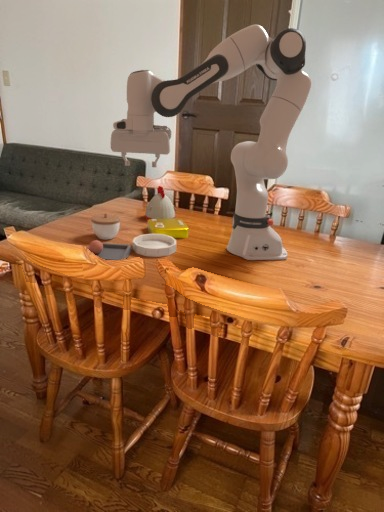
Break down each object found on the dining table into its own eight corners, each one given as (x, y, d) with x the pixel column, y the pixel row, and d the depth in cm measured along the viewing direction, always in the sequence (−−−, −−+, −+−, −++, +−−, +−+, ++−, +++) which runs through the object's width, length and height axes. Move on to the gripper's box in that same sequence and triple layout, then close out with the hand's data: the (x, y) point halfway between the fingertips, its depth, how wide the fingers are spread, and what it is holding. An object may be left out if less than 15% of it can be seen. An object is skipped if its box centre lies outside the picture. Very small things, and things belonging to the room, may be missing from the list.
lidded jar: (113, 243, 131) (113, 219, 127) (87, 239, 132) (85, 215, 129) (124, 234, 141) (124, 211, 137) (99, 231, 142) (98, 208, 139)
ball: (103, 238, 119) (90, 238, 119) (100, 242, 115) (86, 243, 115) (105, 250, 121) (92, 250, 121) (101, 255, 116) (88, 256, 117)
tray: (131, 250, 125) (131, 244, 125) (123, 265, 113) (123, 260, 112) (92, 247, 125) (92, 242, 125) (80, 263, 112) (79, 257, 112)
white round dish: (177, 242, 136) (177, 235, 134) (174, 258, 121) (174, 250, 120) (137, 239, 135) (137, 232, 134) (129, 255, 121) (129, 247, 120)
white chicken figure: (169, 213, 173) (170, 183, 167) (179, 221, 161) (181, 189, 156) (141, 215, 167) (142, 184, 162) (150, 223, 156) (151, 190, 150)
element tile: (189, 238, 142) (190, 227, 140) (152, 240, 137) (153, 228, 136) (180, 227, 155) (180, 216, 153) (146, 228, 151) (146, 217, 149)
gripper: (172, 125, 120) (171, 166, 125) (112, 122, 120) (114, 163, 125) (170, 126, 114) (169, 169, 120) (108, 123, 114) (110, 166, 120)
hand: (140, 166), depth 122 cm, fingers open, 8 cm apart
